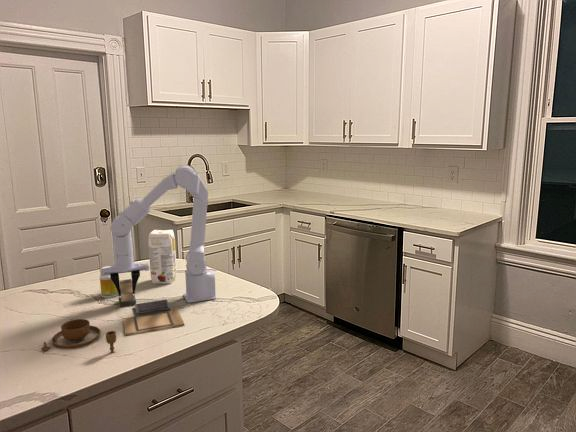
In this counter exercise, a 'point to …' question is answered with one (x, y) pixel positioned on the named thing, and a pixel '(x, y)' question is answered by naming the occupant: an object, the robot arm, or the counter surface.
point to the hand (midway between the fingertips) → (126, 293)
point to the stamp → (126, 293)
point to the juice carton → (162, 256)
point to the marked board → (152, 322)
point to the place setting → (79, 335)
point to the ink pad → (152, 307)
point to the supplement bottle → (107, 286)
